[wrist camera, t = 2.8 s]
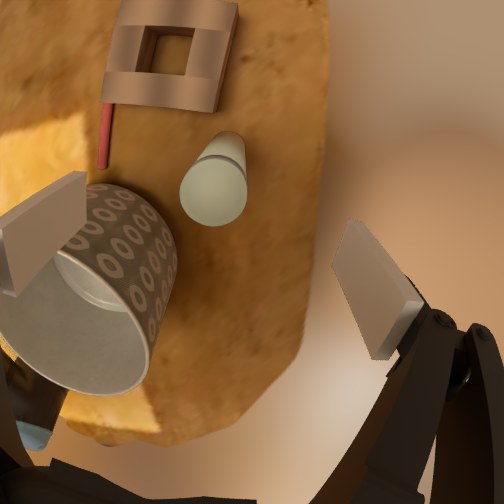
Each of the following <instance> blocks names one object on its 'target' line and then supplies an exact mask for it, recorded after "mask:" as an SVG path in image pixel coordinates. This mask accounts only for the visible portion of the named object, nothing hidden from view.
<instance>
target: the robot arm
mask: <svg viewBox="0 0 504 504" xmlns="http://www.w3.org/2000/svg"><path fill="white" fill-rule="evenodd" d="M86 182H87V172H80V171H73V172H71V173H70V174H68V175H66V176H64V177H62V178H61V179H59V180H57V181H55V182H54V183H52V184H50V185H49V186H47V187H45V188H44V189H42V190H40V191H39V192H37V193H36V194H34V195H32V196H31V197H29V198H28V199H26V200H25V201H23V202H22V203H20V204H19V205H17V206H16V207H14V208H13V209H11V210H10V211H8V212H7V213H5V214H4V215H2V216H1V217H0V284H1V288H2V291H3V293H4V294H7V295H10V296H13V297H16V298H17V297H18V296H19V294H20V293H21V292H22V291H23V290H24V288H25V287H26V286H27V285H28V284H29V283H30V281H31V280H32V279H33V278H34V277H35V276H36V275H37V274H38V272H39V271H40V270H41V269H42V268H43V267H44V266H45V265H46V264H47V263H48V261H49V260H50V259H51V258H52V257H53V256H54V255H55V254H56V253H57V252H58V251H59V250H60V249H61V248H62V247H63V246H64V245H65V244H66V243H67V242H68V241H69V240H70V239H71V238H72V237H73V236H74V235H75V234H76V233H77V232H78V231H79V230H80V229H81V228H82V227H83V226H84V225H85V224H86V223H87V214H86ZM332 267H333V270H334V272H335V274H336V276H337V278H338V281H339V283H340V285H341V287H342V290H343V292H344V294H345V296H346V299H347V301H348V303H349V306H350V308H351V310H352V313H353V315H354V317H355V319H356V322H357V324H358V327H359V329H360V332H361V334H362V337H363V339H364V341H365V344H366V346H367V349H368V351H369V354H370V356H371V359H372V360H389V359H390V357H391V356H392V354H393V353H394V351H395V350H396V348H397V350H398V353H399V355H400V357H399V358H398V360H397V361H396V362H395V364H394V365H393V367H392V368H391V370H390V371H389V372H388V374H387V375H386V377H388V379H387V381H386V383H385V385H384V387H383V389H382V391H381V393H380V395H379V397H378V399H377V401H376V402H375V404H374V406H373V408H372V410H371V411H370V413H369V415H368V417H367V419H366V420H365V422H364V424H363V425H362V427H361V429H360V431H359V432H358V434H357V436H356V437H355V439H354V440H353V442H352V444H351V445H350V447H349V448H348V450H347V452H346V453H345V455H344V456H343V458H342V459H341V461H340V462H339V464H338V465H337V467H336V468H335V470H334V471H333V473H332V474H331V475H330V477H329V478H328V479H327V481H326V482H325V484H324V485H323V486H322V488H321V489H320V491H319V492H318V493H317V494H316V496H315V497H314V498H313V499H312V500H311V501H310V503H309V504H424V502H425V498H424V495H423V494H421V493H419V492H418V491H417V488H418V485H419V482H420V479H421V477H422V474H423V472H424V469H425V466H426V464H427V461H428V458H429V455H430V452H431V449H432V446H433V443H434V439H435V436H436V448H435V463H434V473H433V482H432V490H431V498H430V504H504V366H503V363H502V359H501V356H500V353H499V350H498V347H497V344H496V341H495V338H494V336H493V335H492V333H491V332H490V330H489V329H488V328H487V327H485V326H482V325H481V324H478V323H473V324H472V325H471V326H470V328H469V329H468V331H467V332H463V331H460V330H457V326H456V323H455V322H454V320H453V319H452V318H451V317H450V316H449V315H448V314H446V313H445V312H443V311H441V310H438V309H431V308H430V306H429V305H428V303H427V302H426V300H425V299H424V298H423V296H422V295H421V294H420V293H419V291H418V289H417V288H416V287H415V285H414V284H413V283H412V281H411V280H410V279H409V278H408V277H407V276H406V275H405V274H403V272H402V271H401V270H400V269H399V267H398V266H397V264H396V263H395V262H394V261H393V259H392V258H391V257H390V256H389V254H388V253H387V251H386V250H385V249H384V248H383V246H382V245H381V244H380V243H379V241H378V240H377V239H376V238H375V236H374V235H373V234H372V233H371V232H370V230H369V229H368V228H367V227H366V226H365V224H364V223H363V222H362V221H358V220H354V219H349V220H348V222H347V225H346V228H345V231H344V234H343V236H342V239H341V242H340V245H339V248H338V250H337V253H336V255H335V258H334V261H333V264H332ZM468 378H469V379H468ZM467 379H468V381H467V382H466V380H467ZM69 390H70V389H67V388H65V387H62V386H60V385H58V384H56V383H54V382H52V381H50V380H49V379H47V378H45V377H44V376H42V375H41V374H39V373H38V372H36V371H35V370H34V369H32V368H31V367H30V366H29V365H27V364H26V363H25V362H24V361H23V360H22V359H21V358H20V357H19V356H18V357H17V359H16V360H15V362H14V361H13V360H12V359H11V358H10V357H9V356H8V355H7V354H6V353H5V352H4V350H3V349H2V348H1V346H0V504H257V501H256V500H249V499H229V498H216V497H206V496H202V497H193V498H179V499H156V500H155V499H154V500H152V499H146V498H143V497H140V496H138V495H136V494H134V493H132V492H130V491H128V490H126V489H124V488H122V487H120V486H118V485H116V484H114V483H112V482H111V481H109V480H107V479H105V478H103V477H102V476H100V475H98V474H96V473H93V472H90V471H87V470H84V469H81V468H78V467H75V466H73V465H70V464H68V463H65V462H62V461H60V460H57V459H55V458H52V460H51V463H50V466H34V464H33V462H32V460H31V458H30V457H29V455H28V454H27V452H26V450H25V449H27V450H31V451H42V450H44V449H45V448H46V446H47V443H48V441H49V439H50V437H51V436H52V434H53V429H54V426H55V424H56V421H57V418H58V416H59V413H60V410H61V408H62V405H63V403H64V400H65V397H66V395H67V393H68V391H69Z"/></svg>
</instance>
